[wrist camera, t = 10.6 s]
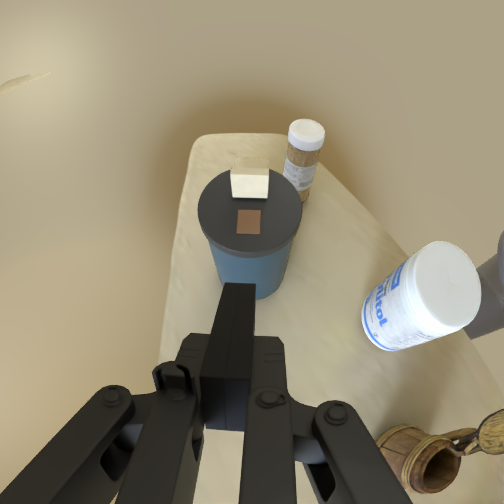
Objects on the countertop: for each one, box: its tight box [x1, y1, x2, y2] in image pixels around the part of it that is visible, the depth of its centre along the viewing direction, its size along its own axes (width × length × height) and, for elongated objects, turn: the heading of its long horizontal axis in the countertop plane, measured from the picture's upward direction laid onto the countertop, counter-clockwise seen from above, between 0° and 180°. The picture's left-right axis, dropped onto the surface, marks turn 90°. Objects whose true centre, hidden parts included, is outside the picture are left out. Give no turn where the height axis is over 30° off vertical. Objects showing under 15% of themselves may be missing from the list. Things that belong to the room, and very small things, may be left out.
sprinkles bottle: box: [283, 119, 325, 202], centre depth 40 cm, size 5×5×13 cm
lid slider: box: [230, 157, 269, 198], centre depth 27 cm, size 4×3×3 cm
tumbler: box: [198, 169, 302, 300], centre depth 34 cm, size 10×10×15 cm
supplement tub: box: [361, 241, 481, 351], centre depth 31 cm, size 10×10×15 cm
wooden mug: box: [375, 409, 504, 494], centre depth 21 cm, size 9×14×18 cm, turn 113°
